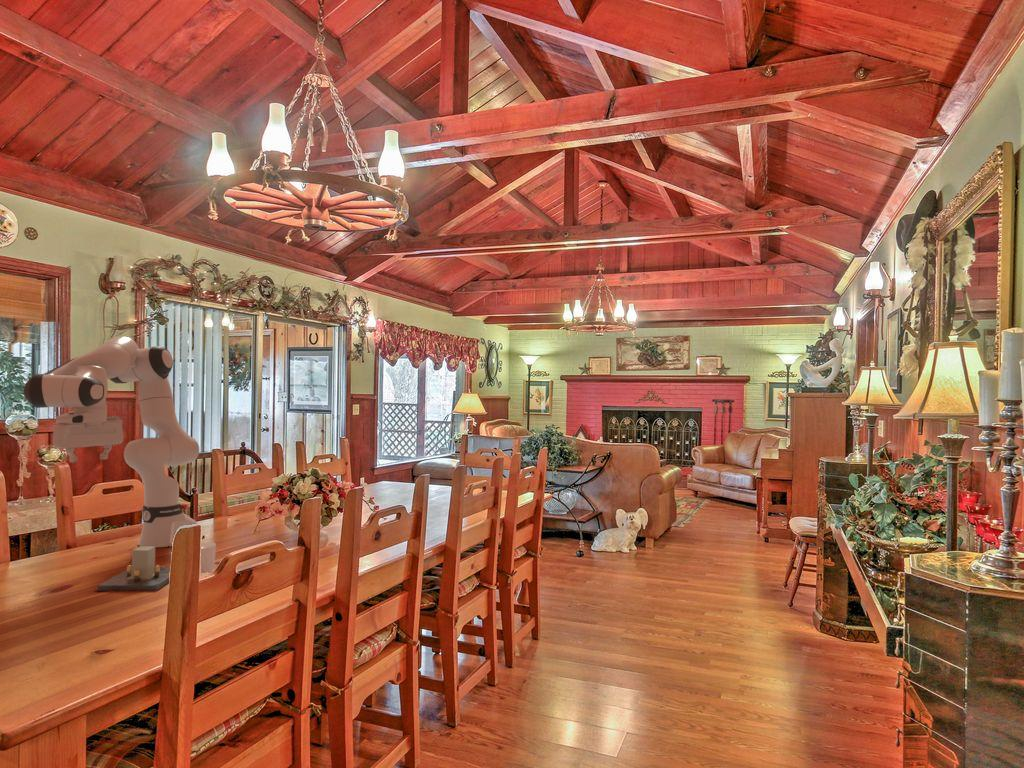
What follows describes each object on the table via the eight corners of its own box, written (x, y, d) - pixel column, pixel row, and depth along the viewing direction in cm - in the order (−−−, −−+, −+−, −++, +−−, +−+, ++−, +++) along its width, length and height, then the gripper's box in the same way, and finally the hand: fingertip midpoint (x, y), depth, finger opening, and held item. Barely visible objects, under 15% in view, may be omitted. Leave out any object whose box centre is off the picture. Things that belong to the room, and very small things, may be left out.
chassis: (130, 571, 195) (131, 557, 195) (184, 571, 197) (184, 557, 197) (97, 590, 177) (98, 574, 177) (156, 590, 179) (157, 574, 179)
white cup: (220, 574, 195) (221, 542, 195) (205, 582, 187) (206, 548, 187) (196, 573, 196) (197, 541, 196) (180, 580, 188) (181, 547, 188)
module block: (139, 572, 189) (139, 546, 189) (154, 572, 189) (155, 546, 189) (131, 577, 184) (132, 550, 184) (147, 577, 185) (148, 550, 185)
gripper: (115, 415, 208) (114, 456, 208) (49, 417, 189) (48, 463, 189) (128, 416, 206) (127, 458, 205) (63, 418, 187) (61, 464, 187)
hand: (88, 460), depth 197 cm, fingers open, 8 cm apart
